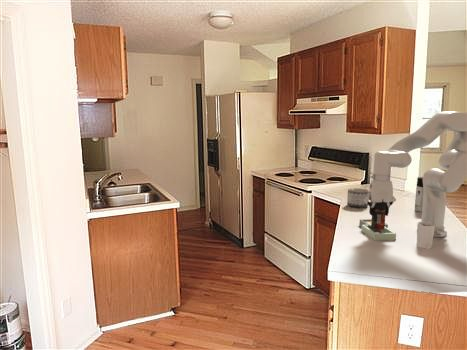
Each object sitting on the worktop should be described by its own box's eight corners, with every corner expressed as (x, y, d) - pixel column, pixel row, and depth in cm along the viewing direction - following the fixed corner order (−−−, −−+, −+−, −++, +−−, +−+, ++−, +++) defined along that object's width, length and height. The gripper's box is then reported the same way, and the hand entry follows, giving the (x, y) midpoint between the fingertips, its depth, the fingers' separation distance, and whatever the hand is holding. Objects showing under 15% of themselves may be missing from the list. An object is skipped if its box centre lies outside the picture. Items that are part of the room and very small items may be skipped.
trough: (395, 239, 161) (396, 233, 161) (374, 240, 160) (375, 234, 160) (380, 230, 175) (381, 224, 174) (361, 230, 174) (361, 224, 174)
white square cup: (413, 246, 153) (415, 224, 151) (418, 242, 158) (420, 220, 156) (430, 250, 148) (432, 227, 147) (435, 246, 153) (437, 224, 151)
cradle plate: (383, 228, 175) (384, 225, 175) (369, 228, 175) (369, 225, 174) (376, 223, 182) (376, 221, 182) (362, 224, 182) (363, 221, 182)
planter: (368, 209, 215) (369, 192, 213) (346, 207, 219) (347, 191, 217) (367, 204, 226) (368, 188, 225) (347, 203, 230) (348, 187, 229)
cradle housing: (387, 230, 174) (387, 224, 174) (368, 231, 173) (368, 225, 173) (377, 224, 184) (378, 219, 184) (359, 225, 183) (359, 219, 183)
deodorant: (380, 226, 170) (383, 196, 168) (386, 230, 164) (389, 198, 162) (368, 226, 170) (371, 196, 168) (374, 230, 164) (376, 198, 162)
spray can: (415, 208, 215) (418, 176, 212) (428, 210, 211) (431, 177, 208) (413, 210, 210) (415, 178, 207) (425, 212, 206) (428, 179, 203)
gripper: (367, 179, 159) (364, 217, 162) (403, 179, 160) (400, 217, 163) (360, 176, 166) (357, 213, 169) (394, 176, 168) (392, 212, 170)
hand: (378, 214), depth 166 cm, fingers closed on deodorant, 6 cm apart
